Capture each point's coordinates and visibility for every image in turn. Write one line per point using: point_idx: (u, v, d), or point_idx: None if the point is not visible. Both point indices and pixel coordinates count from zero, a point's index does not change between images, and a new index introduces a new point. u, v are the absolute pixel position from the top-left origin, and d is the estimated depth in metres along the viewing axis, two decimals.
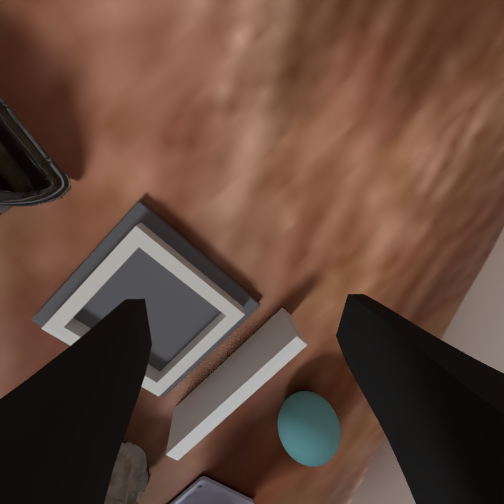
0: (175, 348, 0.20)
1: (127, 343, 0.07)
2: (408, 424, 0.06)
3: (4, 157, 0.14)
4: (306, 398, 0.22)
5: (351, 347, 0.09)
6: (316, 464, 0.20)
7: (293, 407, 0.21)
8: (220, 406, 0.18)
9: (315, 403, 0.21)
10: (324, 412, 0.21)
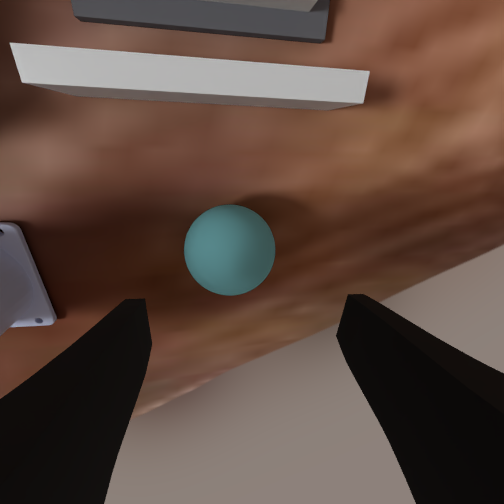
0: None
1: (127, 343, 0.07)
2: (408, 424, 0.06)
3: None
4: None
5: (351, 347, 0.09)
6: (220, 277, 0.13)
7: (239, 206, 0.14)
8: (182, 59, 0.10)
9: (267, 225, 0.14)
10: (272, 238, 0.14)
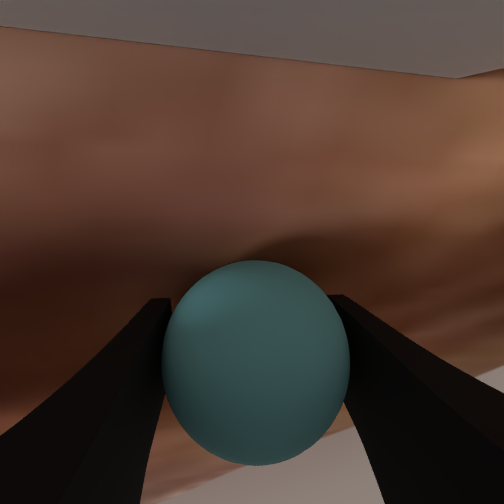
0: None
1: (158, 342, 0.07)
2: (379, 427, 0.06)
3: None
4: None
5: None
6: (240, 456, 0.05)
7: (281, 272, 0.07)
8: None
9: (333, 306, 0.07)
10: (347, 339, 0.07)
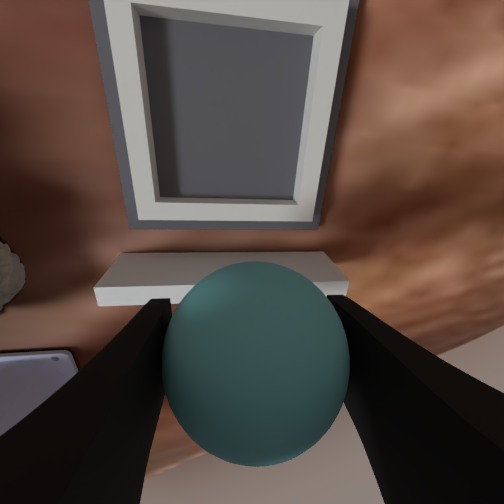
0: (204, 189, 0.14)
1: (158, 342, 0.07)
2: (379, 427, 0.06)
3: None
4: (315, 285, 0.07)
5: None
6: (240, 457, 0.05)
7: (281, 273, 0.07)
8: None
9: (333, 308, 0.07)
10: (346, 340, 0.07)
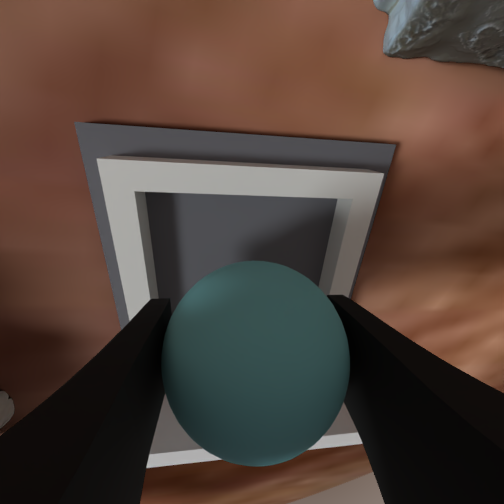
0: None
1: (158, 342, 0.07)
2: (379, 427, 0.06)
3: None
4: None
5: None
6: (240, 457, 0.05)
7: (281, 272, 0.07)
8: None
9: None
10: (347, 340, 0.07)
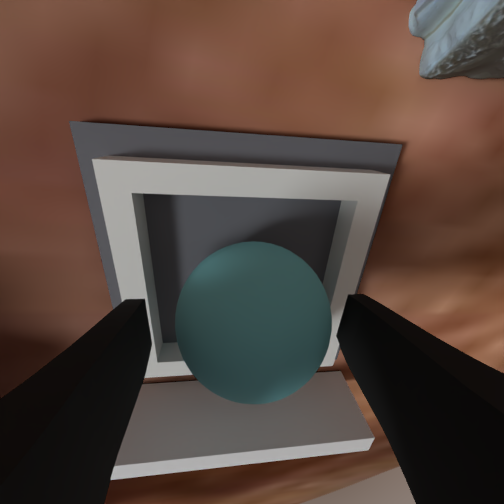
0: None
1: (127, 343, 0.07)
2: (408, 424, 0.06)
3: None
4: (302, 259, 0.09)
5: (351, 347, 0.09)
6: (246, 392, 0.07)
7: (274, 248, 0.08)
8: (222, 455, 0.12)
9: None
10: (329, 303, 0.08)
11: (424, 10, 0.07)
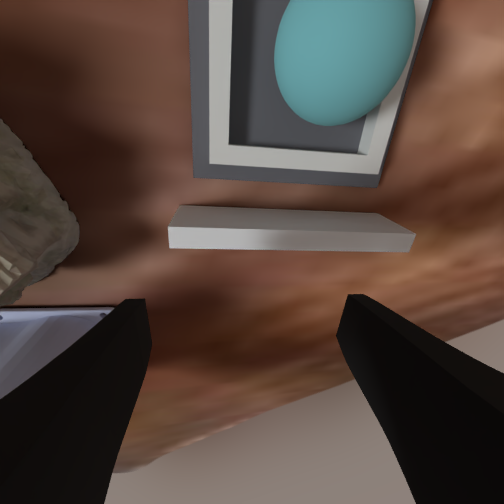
0: (272, 137, 0.14)
1: (127, 343, 0.07)
2: (408, 424, 0.06)
3: None
4: None
5: (351, 347, 0.09)
6: (368, 43, 0.08)
7: None
8: (283, 231, 0.13)
9: None
10: None
11: None
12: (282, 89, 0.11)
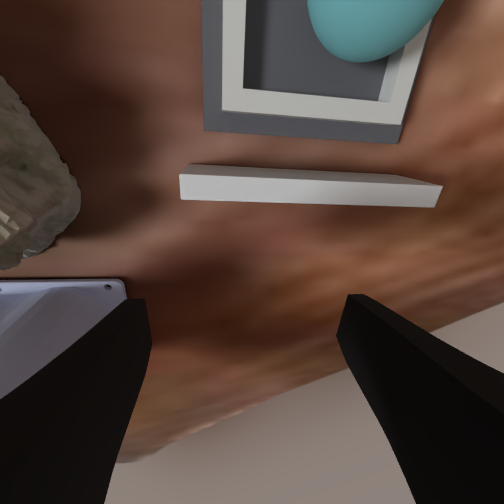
0: (287, 84, 0.13)
1: (127, 343, 0.07)
2: (408, 424, 0.06)
3: None
4: None
5: (351, 347, 0.09)
6: None
7: None
8: (303, 181, 0.12)
9: None
10: None
11: None
12: (322, 11, 0.09)
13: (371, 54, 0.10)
